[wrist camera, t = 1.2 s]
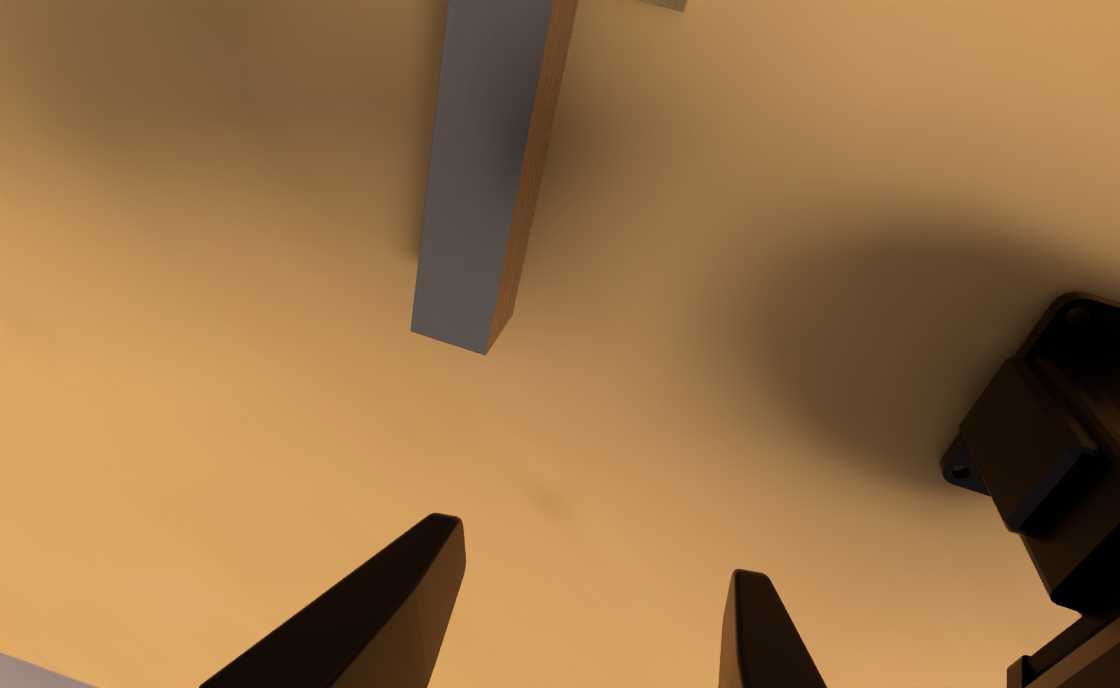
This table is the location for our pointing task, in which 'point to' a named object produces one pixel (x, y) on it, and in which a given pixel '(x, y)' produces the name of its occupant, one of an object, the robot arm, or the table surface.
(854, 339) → the table surface
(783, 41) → the table surface
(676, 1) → the plate
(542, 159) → the lock bar
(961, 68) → the table surface
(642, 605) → the table surface
